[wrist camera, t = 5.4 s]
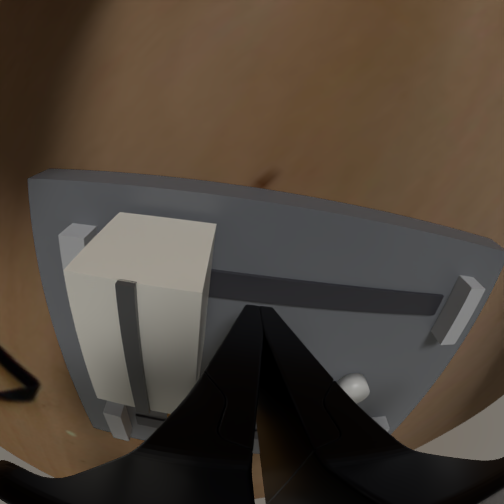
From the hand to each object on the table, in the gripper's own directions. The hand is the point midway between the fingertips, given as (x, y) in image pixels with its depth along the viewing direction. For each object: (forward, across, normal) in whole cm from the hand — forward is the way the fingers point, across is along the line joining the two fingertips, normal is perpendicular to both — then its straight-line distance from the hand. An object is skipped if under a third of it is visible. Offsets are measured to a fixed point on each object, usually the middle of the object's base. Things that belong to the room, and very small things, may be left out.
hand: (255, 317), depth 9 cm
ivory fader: (+1, +3, 0) cm, 3 cm away
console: (+3, -2, +5) cm, 6 cm away
